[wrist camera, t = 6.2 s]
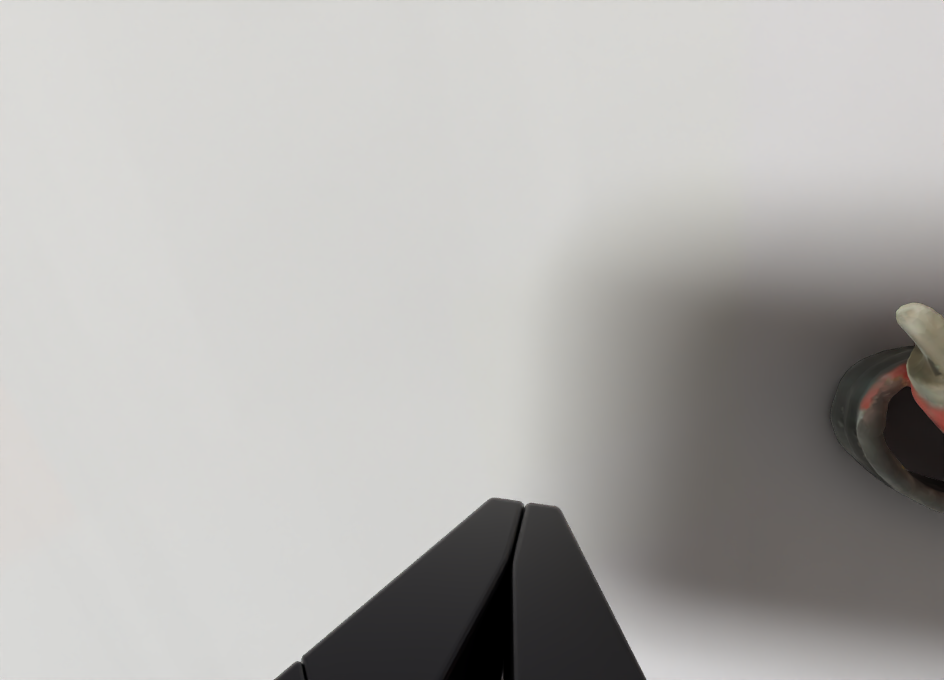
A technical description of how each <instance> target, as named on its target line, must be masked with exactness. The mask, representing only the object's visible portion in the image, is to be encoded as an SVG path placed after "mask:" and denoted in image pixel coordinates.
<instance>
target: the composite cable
mask: <svg viewBox="0 0 944 680" xmlns="http://www.w3.org/2000/svg"><path fill="white" fill-rule="evenodd" d="M896 320H897V323H898V324H899V325H900V327H901V328H902V329H903V330H904V331H905V332H906V333H907V334H908V335H909V336H910V337H911V338H912V340H913V341H914V342H915V344H916V345H915V346H908V347H901V348H897V349H892V350H886V351H883V352H880V353H877V354H875V355H872V356H869V357H867V358H864V359H862V360H861V361H859V362H858V363H856V364H855V365H853V366H852V367H851V368H850V369H849V370H848V371H847V372H846V373H845V375H844V376H843V378H842V379H841V381H840V383H839V386H838V389H837V392H836V394H835V397H834V400H833V404H832V407H831V412H830V419H831V422H832V426H833V429H834V432H835V434H836V437H837V440H838V441H839V443H840V444H841V445H842V446H843V448H844V449H845V450H846V451H847V452H848V453H849V454H850V455H851V456H852V457H853V458H854V459H855V460H856V461H857V462H858V463H860V464H861V465H862V466H863V467H864V468H865V469H866V470H867V471H869V472H870V473H871V474H873V475H874V476H875V477H876V478H878V479H879V480H880V481H882V482H883V483H884V484H885V485H887V486H889V487H891V488H893V489H895V490H896V491H897V492H899V493H901V494H903V495H905V496H907V497H908V498H910V499H912V500H914V501H916V502H918V503H919V504H922V505H924V506H926V507H928V508H929V509H932V510H935V511H938V512H941V513H944V482H943V481H939V480H936V479H933V478H929V477H926V476H923V475H920V474H917V473H914V472H911V471H908V470H906V468H905V467H904V466H903V465H902V464H901V463H900V462H899V461H898V459H897V458H896V457H895V456H894V454H893V453H892V452H891V451H890V449H889V448H888V447H887V444H886V441H885V438H884V435H883V431H884V429H885V426H886V414H887V409H888V403H889V401H890V400H891V398H892V397H893V396H894V395H895V394H896V393H897V392H899V391H900V390H901V389H902V388H904V387H907V386H909V387H911V391H912V396H913V398H914V399H915V401H916V403H917V404H918V405H919V406H920V407H921V409H922V410H923V411H924V412H925V413H926V414H927V416H928V417H929V418H930V419H931V420H932V421H933V423H934V424H935V425H936V426H937V427H938V428H939V429H940V430H941V431H942V433H943V434H944V318H943V317H942V315H940V314H939V313H937V312H936V311H934V310H933V308H930V307H928V306H926V305H923V304H921V303H909V304H906V305H903V306H901V307H900V308H899V309H898V310H897V311H896Z"/></svg>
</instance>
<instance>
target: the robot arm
mask: <svg viewBox="0 0 944 680" xmlns="http://www.w3.org/2000/svg"><path fill="white" fill-rule="evenodd" d="M274 680H646V678H645V676H644V674H643V672H642V670H641V668H640V666H639V664H638V662H637V660H636V658H635V656H634V654H633V652H632V650H631V648H630V646H629V644H628V642H627V640H626V638H625V636H624V634H623V632H622V630H621V628H620V626H619V624H618V622H617V620H616V618H615V616H614V614H613V612H612V610H611V608H610V606H609V604H608V602H607V600H606V598H605V596H604V594H603V592H602V591H601V589H600V587H599V585H598V583H597V581H596V579H595V577H594V575H593V573H592V571H591V569H590V567H589V565H588V563H587V561H586V559H585V557H584V555H583V553H582V551H581V549H580V547H579V545H578V543H577V541H576V539H575V537H574V535H573V533H572V531H571V529H570V527H569V525H568V523H567V521H566V519H565V517H564V515H563V513H562V511H561V510H560V509H559V508H558V507H556V506H550V505H543V504H536V503H529V504H527V505H526V506H525V508H524V505H523V503H522V502H520V501H515V500H508V499H501V498H491V499H489V500H487V501H486V502H485V503H484V504H483V505H482V506H480V507H479V508H478V509H477V510H476V511H474V512H473V513H472V514H471V515H470V516H468V517H467V518H466V519H465V520H464V521H463V522H461V523H460V524H459V525H458V526H457V527H455V528H454V529H453V530H452V531H451V532H449V533H448V534H447V535H446V536H445V537H444V538H442V539H441V540H440V541H439V542H438V543H436V544H435V545H434V546H433V547H432V548H430V549H429V550H428V551H427V552H426V553H425V554H423V555H422V556H421V557H420V558H419V559H417V560H416V561H415V562H414V563H413V564H411V565H410V566H409V567H408V568H407V569H406V570H404V571H403V572H402V573H401V574H400V575H398V576H397V577H396V578H395V579H394V580H392V581H391V582H390V583H389V584H388V585H387V586H385V587H384V588H383V589H382V590H381V591H379V592H378V593H377V594H376V595H375V596H373V597H372V598H371V599H370V600H369V601H368V602H366V603H365V604H364V605H363V606H362V607H360V608H359V609H358V610H357V611H356V612H354V613H353V614H352V615H351V616H350V617H349V618H347V619H346V620H345V621H344V622H343V623H341V624H340V625H339V626H338V627H337V628H335V629H334V630H333V631H332V632H331V633H329V634H328V635H327V636H326V637H325V638H324V639H322V640H321V641H320V642H319V643H318V644H316V645H315V646H314V647H313V648H312V649H310V650H309V651H308V652H307V653H306V654H305V655H303V657H302V659H301V662H299V661H297V662H295V663H293V664H292V665H291V666H290V667H289V668H287V669H286V670H285V671H284V672H283V673H281V674H280V675H279V676H278V677H277V678H276V679H274Z"/></svg>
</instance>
